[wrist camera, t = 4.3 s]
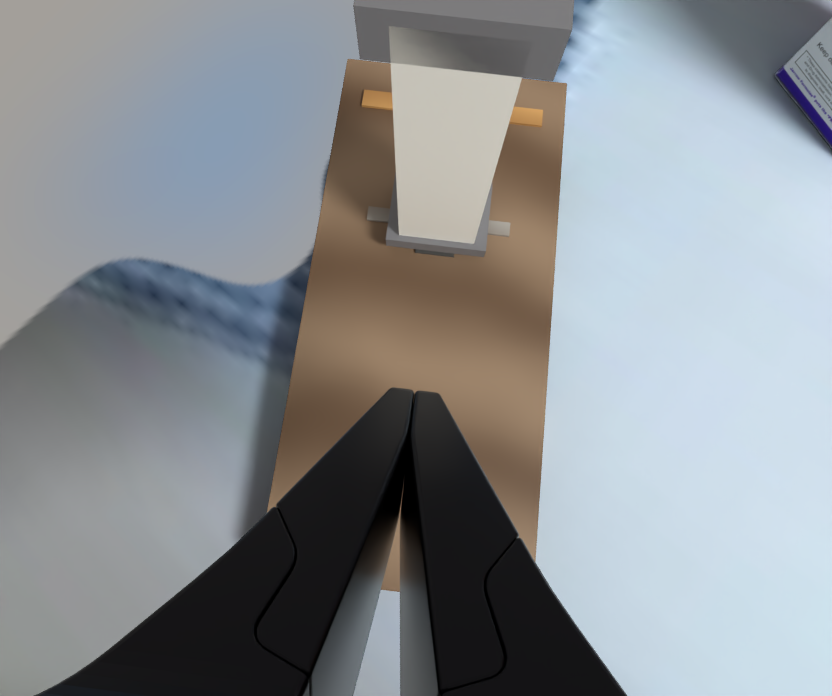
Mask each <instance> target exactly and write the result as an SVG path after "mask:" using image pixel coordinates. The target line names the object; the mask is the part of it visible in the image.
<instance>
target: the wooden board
mask: <svg viewBox="0 0 832 696" xmlns="http://www.w3.org/2000/svg"><path fill="white" fill-rule="evenodd" d="M566 89H567V83H558V82H549V81H540V80H531V79H523V78H522V80H521V83H520V87H519V90H518V94H517V97H516V101H515V104H514V107H513V111H512V114H511V118H510V121H509V125H508V128H507V132H506V135H505V139H504V142H503V145H502V149H501V152H500V156H499V159H498V163H497V166H496V170H495V173H494V177H493V180H492V183H493V185H492V195H491V205H490V215H489V226H488V236H487V246H486V253H485V255H484V257H478V256H469V255H461V254H452V253H444V252H436V251H427V250H419V249H410V248H402V247H393V246H386V234H387V227H388V220H389V213H390V206H391V199H392V192H393V186H394V179H395V172H396V164H395V144H394V123H393V103H392V82H391V64H389V63H380V62H371V61H363V60H354V59H348V61H347V66H346V72H345V77H344V82H343V88H342V94H341V100H340V105H339V111H338V116H337V122H336V128H335V133H334V139H333V144H332V150H331V155H330V161H329V167H328V172H327V178H326V184H325V189H324V195H323V200H322V206H321V212H320V217H319V223H318V228H317V234H316V240H315V245H314V251H313V256H312V262H311V268H310V273H309V279H308V285H307V290H306V296H305V301H304V307H303V313H302V318H301V324H300V329H299V335H298V341H297V346H296V352H295V358H294V363H293V369H292V374H291V380H290V386H289V391H288V397H287V402H286V408H285V414H284V419H283V425H282V431H281V436H280V442H279V447H278V453H277V459H276V464H275V470H274V475H273V481H272V487H271V492H270V498H269V503H268V509H267V512H268V511H269V510H270V509H271V508H272V507H276V504H277V503H278V502H279V501H280V499H281V498H282V497H283V496H284V495H285V494H286V493H287V492H288V491H289V490H290V489H291V488H292V487H293V486H294V485H295V484H296V483H297V482H298V481H299V480H300V479H301V478H302V477H303V476H304V475H305V474H306V473H307V472H308V471H309V470H310V469H311V468H312V467H313V466H314V465H315V464H316V463H317V462H318V461H319V460H320V459H321V458H322V457H323V456H324V455H325V454H326V453H327V452H328V451H329V450H330V449H331V448H332V447H333V446H334V445H335V443H336V442H337V441H338V440H339V439H340V438H341V437H342V436H343V435H344V434H345V433H346V432H347V431H348V430H349V429H350V428H351V427H352V426H353V425H354V424H355V423H356V422H357V421H358V420H359V419H360V418H361V417H362V416H363V415H364V414H365V413H366V412H367V411H368V410H369V409H370V408H371V407H372V406H373V405H374V404H375V403H376V402H377V401H378V400H379V399H380V398H381V397H382V396H383V395H384V394H385V393H386V392H387V391H388V390H389V389H390V388H392V387H396V388H404V389H411V390H413V391H414V395H415V392H416V391H418V390H420V391H429V392H437V393H439V394H440V395H441V397H442V399H443V401H444V402H445V404H446V406H447V408H448V409H449V411H450V413H451V415H452V416H453V418H454V420H455V422H456V424H457V425H458V427H459V429H460V431H461V432H462V434H463V436H464V438H465V439H466V441H467V443H468V445H469V447H470V448H471V450H472V452H473V454H474V455H475V457H476V459H477V461H478V462H479V464H480V466H481V468H482V469H483V471H484V473H485V475H486V477H487V478H488V480H489V482H490V484H491V485H492V487H493V489H494V491H495V492H496V494H497V496H498V498H499V500H500V501H501V503H502V505H503V507H504V508H505V510H506V512H507V514H508V515H509V517H510V519H511V521H512V522H513V524H514V526H515V528H516V530H517V531H518V533H519V538H521V539H522V540H523V541H524V543H525V545H526V547H527V549H528V550H529V552H530V554H531V556H532V558H533V559H534V561H535V558H536V543H537V528H538V513H539V498H540V482H541V467H542V452H543V437H544V422H545V407H546V391H547V376H548V361H549V346H550V331H551V316H552V301H553V285H554V270H555V255H556V240H557V225H558V210H559V195H560V179H561V164H562V149H563V134H564V119H565V104H566ZM413 403H414V402H413ZM403 485H404V484H403ZM402 494H403V492H402ZM401 503H402V500H401ZM400 513H401V507H400ZM381 590H389V591H397V592H400V514H399V519H398V524H397V528H396V532H395V536H394V540H393V544H392V548H391V551H390V555H389V559H388V563H387V567H386V571H385V575H384V578H383V582H382V586H381Z"/></svg>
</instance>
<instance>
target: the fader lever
mask: <svg viewBox="0 0 832 696" xmlns="http://www.w3.org/2000/svg"><path fill="white" fill-rule="evenodd" d="M353 7H354V15H355V23H356V31H357V39H358V47H359V54H360V59H363V60H372V61H380V62H389V63H391V82H392V103H393V123H394V144H395V164H396V172H395V179H394V186H393V192H392V199H391V206H390V213H389V220H388V227H387V234H386V246H393V247H402V248H410V249H419V250H427V251H436V252H444V253H452V254H461V255H469V256H478V257H484V255H485V253H486V246H487V236H488V226H489V215H490V205H491V195H492V185H493V183H492V180H493V177H494V173H495V170H496V166H497V163H498V159H499V156H500V152H501V149H502V145H503V142H504V139H505V135H506V132H507V128H508V125H509V121H510V118H511V114H512V111H513V107H514V104H515V101H516V97H517V94H518V90H519V87H520V83H521V80H522V77H523V78H532V79H540V80H549V81H553V80H554V77H555V74H556V72H557V69H558V66H559V64H560V61H561V58H562V56H563V53H564V50H565V48H566V45H567V42H568V39H569V37H570V34H571V31H572V24H573V8H574V0H354V5H353Z"/></svg>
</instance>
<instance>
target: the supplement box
mask: <svg viewBox="0 0 832 696" xmlns="http://www.w3.org/2000/svg"><path fill="white" fill-rule="evenodd" d="M775 77H776V78H777V79H778V81H779V82H780V84H781V85H782V86H783V88H784V89H785V90H786V92H787V93H788V94H789V95H790V96H791V98H792V99H793V100H794V101H795V102H796V104H797V105H798V106H799V107H800V108H801V110H802V111H803V113H805V115H806V116H807V117H808V119H809V120H810V121H811V122H812V124H813V125H814V126H815V127H816V128H817V130H818V131H819V133H820V134H821V136H822V137H823V138H824V139H825V141H826V142H827V143H828V144H829V145H830V147H831V148H832V18H831V19H830V20H829V21H828V22H827V23H826V24H825V25H824V26H823V27H822V28H821V29H820V30H819V31H818V32H817V33H816V34H815V35H814V36H813V37H812V38H811V39H810V40H809V41H808V42H807V43H806V44H805V45H804V46H803V47H802V48H801V49H800V50H799V51H798V52H797V53H796V54H795V55H794V56H793V57H792V58H791V59H790V60H789V61H788V62H787V63H786V64H785V65H784V66H783V67H782V68H780V69H779V70H778V71H777V72H776V73H775Z"/></svg>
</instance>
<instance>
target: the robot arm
mask: <svg viewBox="0 0 832 696" xmlns="http://www.w3.org/2000/svg"><path fill="white" fill-rule="evenodd" d="M413 402H414V403H413ZM403 484H404V485H403ZM402 492H403V494H402ZM401 500H402V503H401ZM400 507H401V513H400ZM399 514H400V696H627V694H626V693H625V692H624V690H623V689H622V688H621V686H620V685H619V683H618V682H617V681H616V679H615V678H614V677H613V675H612V674H611V672H610V671H609V670H608V668H607V667H606V665H605V664H604V663H603V661H602V660H601V659H600V657H599V656H598V654H597V653H596V652H595V650H594V649H593V648H592V646H591V645H590V643H589V642H588V641H587V639H586V638H585V636H584V635H583V634H582V632H581V631H580V630H579V628H578V627H577V625H576V624H575V622H574V621H573V620H572V618H571V617H570V615H569V614H568V612H567V611H566V609H565V608H564V607H563V605H562V604H561V602H560V601H559V599H558V598H557V596H556V595H555V594H554V592H553V591H552V589H551V587H550V586H549V584H548V582H547V581H546V579H545V577H544V576H543V574H542V573H541V571H540V569H539V568H538V566H537V564H536V563H535V561H534V559H533V558H532V556H531V554H530V552H529V550H528V549H527V547H526V545H525V543H524V541H523V540H522V539H521V538H519V533H518V531H517V530H516V528H515V526H514V524H513V522H512V521H511V519H510V517H509V515H508V514H507V512H506V510H505V508H504V507H503V505H502V503H501V501H500V500H499V498H498V496H497V494H496V492H495V491H494V489H493V487H492V485H491V484H490V482H489V480H488V478H487V477H486V475H485V473H484V471H483V469H482V468H481V466H480V464H479V462H478V461H477V459H476V457H475V455H474V454H473V452H472V450H471V448H470V447H469V445H468V443H467V441H466V439H465V438H464V436H463V434H462V432H461V431H460V429H459V427H458V425H457V424H456V422H455V420H454V418H453V416H452V415H451V413H450V411H449V409H448V408H447V406H446V404H445V402H444V401H443V399H442V397H441V395H440V394H439V393H437V392H429V391H420V390H418V391H416V392H415V395H414V391H413V390H411V389H404V388H396V387H392V388H390V389H389V390H388V391H387V392H386V393H385V394H384V395H383V396H382V397H381V398H380V399H379V400H378V401H377V402H376V403H375V404H374V405H373V406H372V407H371V408H370V409H369V410H368V411H367V412H366V413H365V414H364V415H363V416H362V417H361V418H360V419H359V420H358V421H357V422H356V423H355V424H354V425H353V426H352V427H351V428H350V429H349V430H348V431H347V432H346V433H345V434H344V435H343V436H342V437H341V438H340V439H339V440H338V441H337V442H336V443H335V445H334V446H333V447H332V448H331V449H330V450H329V451H328V452H327V453H326V454H325V455H324V456H323V457H322V458H321V459H320V460H319V461H318V462H317V463H316V464H315V465H314V466H313V467H312V468H311V469H310V470H309V471H308V472H307V473H306V474H305V475H304V476H303V477H302V478H301V479H300V480H299V481H298V482H297V483H296V484H295V485H294V486H293V487H292V488H291V489H290V490H289V491H288V492H287V493H286V494H285V495H284V496H283V497H282V498H281V499H280V501H279V502H278V503H277V504H276V507H272V508H271V509H270V510H269V511H268V512H267V513H266V514H265V515H264V516H263V518H262V519H261V520H260V521H259V522H258V523H257V524H256V525H255V526H254V527H253V528H251V529H250V530H249V531H248V532H247V533H246V534H245V535H244V536H243V537H242V538H241V539H240V540H239V541H238V542H237V543H236V544H235V545H234V546H233V547H232V548H231V549H229V550H228V551H227V552H226V553H225V554H224V555H222V556H221V557H220V558H219V559H218V560H217V561H215V562H214V563H213V564H212V565H211V566H210V567H208V568H207V569H206V570H205V571H204V572H203V573H201V574H200V575H199V576H198V577H197V578H196V579H194V580H193V581H192V582H191V583H189V584H188V585H187V586H186V587H185V588H183V589H182V590H181V591H180V592H178V593H177V594H176V595H175V596H174V597H172V598H171V599H170V600H169V601H167V602H166V603H165V604H164V605H163V606H161V607H160V608H159V609H158V610H156V611H155V612H154V613H153V614H151V615H150V616H149V617H148V618H147V619H145V620H144V621H143V622H142V623H140V624H139V625H138V626H137V627H136V628H134V629H133V630H132V631H131V632H129V633H128V634H127V635H126V636H125V637H123V638H122V639H121V640H120V641H118V642H117V643H116V644H115V645H114V646H112V647H111V648H110V649H109V650H107V651H106V652H105V653H103V654H102V655H101V656H100V657H98V658H97V659H96V660H94V661H93V662H91V663H90V664H89V665H87V666H86V667H84V668H83V669H81V670H80V671H78V672H77V673H75V674H74V675H72V676H70V677H69V678H67V679H65V680H64V681H62V682H60V683H59V684H57V685H55V686H53V687H51V688H49V689H47V690H45V691H43V692H41V693H39V694H37V695H35V696H353V694H354V690H355V686H356V682H357V678H358V675H359V671H360V667H361V663H362V659H363V655H364V652H365V648H366V644H367V640H368V636H369V632H370V628H371V625H372V621H373V617H374V613H375V609H376V605H377V602H378V598H379V594H380V590H381V586H382V582H383V578H384V575H385V571H386V567H387V563H388V559H389V555H390V551H391V548H392V544H393V540H394V536H395V532H396V528H397V524H398V519H399Z"/></svg>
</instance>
